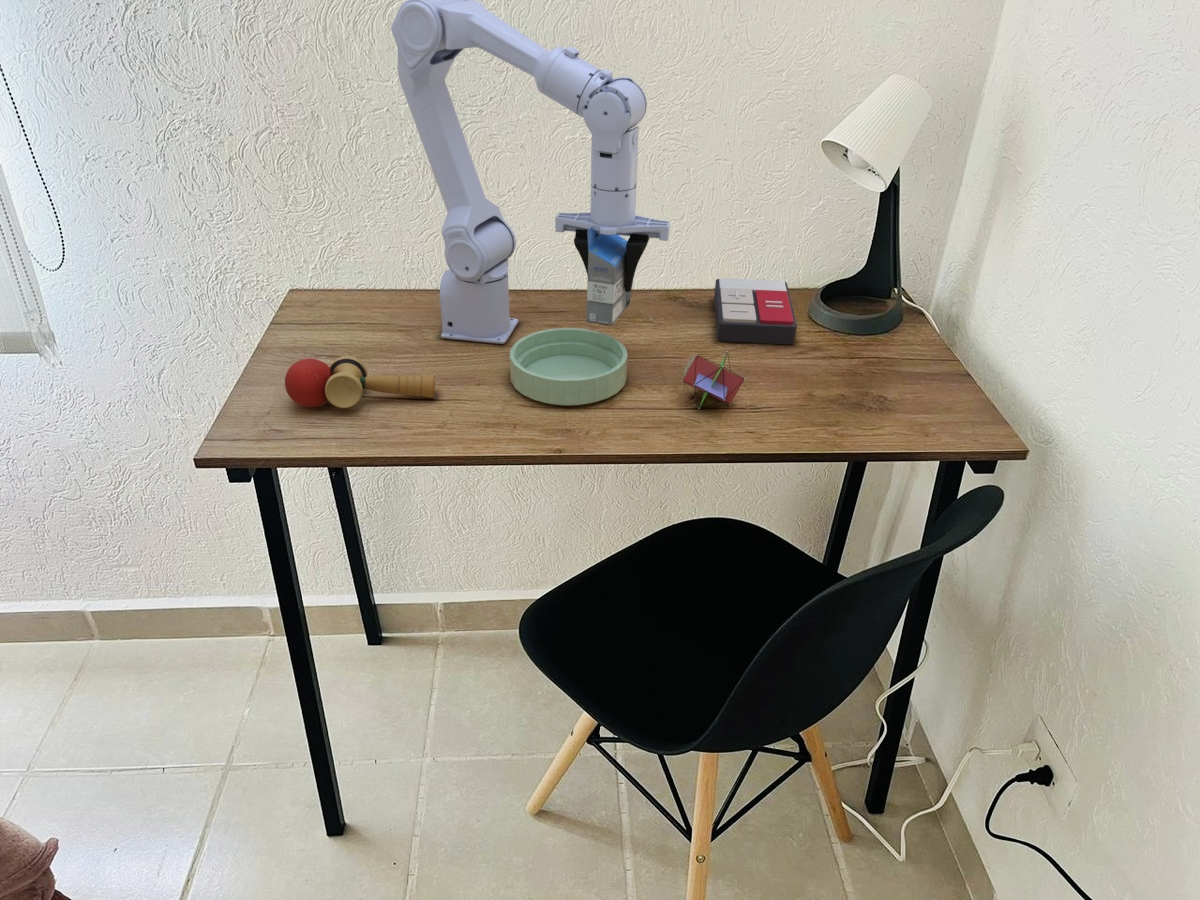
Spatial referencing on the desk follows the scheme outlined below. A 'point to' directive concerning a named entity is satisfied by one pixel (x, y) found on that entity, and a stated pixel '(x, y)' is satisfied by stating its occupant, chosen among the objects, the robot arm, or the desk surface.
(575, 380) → the bowl
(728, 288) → the calculator
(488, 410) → the desk surface
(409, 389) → the kendama
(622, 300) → the tape cartridge
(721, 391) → the geometric puzzle
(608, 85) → the robot arm
